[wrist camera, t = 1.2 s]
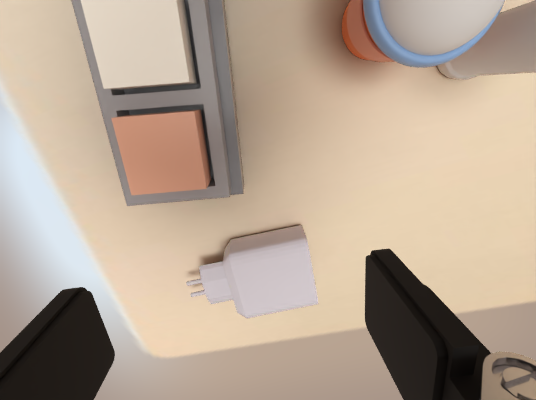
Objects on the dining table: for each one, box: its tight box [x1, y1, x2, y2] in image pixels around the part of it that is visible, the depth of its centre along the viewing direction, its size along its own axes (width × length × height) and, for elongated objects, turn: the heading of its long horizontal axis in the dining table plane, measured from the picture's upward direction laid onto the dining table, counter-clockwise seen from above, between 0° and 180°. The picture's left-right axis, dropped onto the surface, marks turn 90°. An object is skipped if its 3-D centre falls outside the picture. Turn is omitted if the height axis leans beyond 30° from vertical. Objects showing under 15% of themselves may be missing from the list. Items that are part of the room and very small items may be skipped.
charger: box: [186, 225, 318, 318], centre depth 34 cm, size 5×9×15 cm
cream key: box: [81, 0, 197, 89], centre depth 21 cm, size 6×6×3 cm
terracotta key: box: [111, 109, 211, 195], centre depth 24 cm, size 6×6×3 cm
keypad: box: [72, 0, 244, 206], centre depth 25 cm, size 28×12×6 cm, turn 4°
